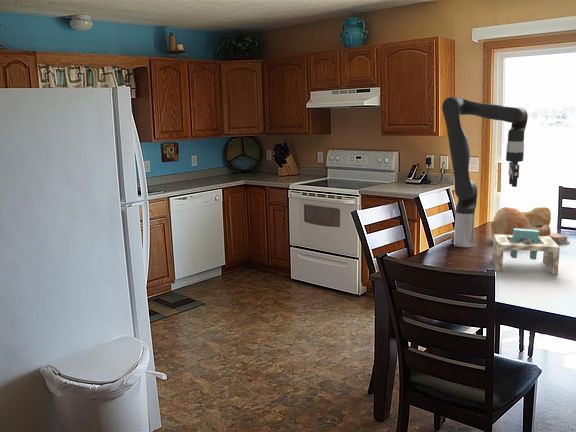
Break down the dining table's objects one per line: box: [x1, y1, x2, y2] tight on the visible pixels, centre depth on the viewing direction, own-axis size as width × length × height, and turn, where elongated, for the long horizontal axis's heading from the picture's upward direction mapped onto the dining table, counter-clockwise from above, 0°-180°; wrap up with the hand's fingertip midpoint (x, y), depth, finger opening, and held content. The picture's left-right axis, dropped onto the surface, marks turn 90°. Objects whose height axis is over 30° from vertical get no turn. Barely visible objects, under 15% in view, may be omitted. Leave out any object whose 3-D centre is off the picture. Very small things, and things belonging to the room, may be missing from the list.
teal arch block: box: [509, 228, 539, 261], centre depth 244 cm, size 10×4×12 cm, turn 77°
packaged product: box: [550, 231, 571, 246], centre depth 292 cm, size 18×5×10 cm
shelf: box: [491, 234, 561, 276], centre depth 245 cm, size 24×20×13 cm
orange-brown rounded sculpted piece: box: [490, 206, 552, 243], centre depth 287 cm, size 20×19×30 cm
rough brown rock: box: [511, 206, 552, 228], centre depth 313 cm, size 23×16×15 cm
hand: (512, 185), depth 262 cm, fingers open, 8 cm apart
